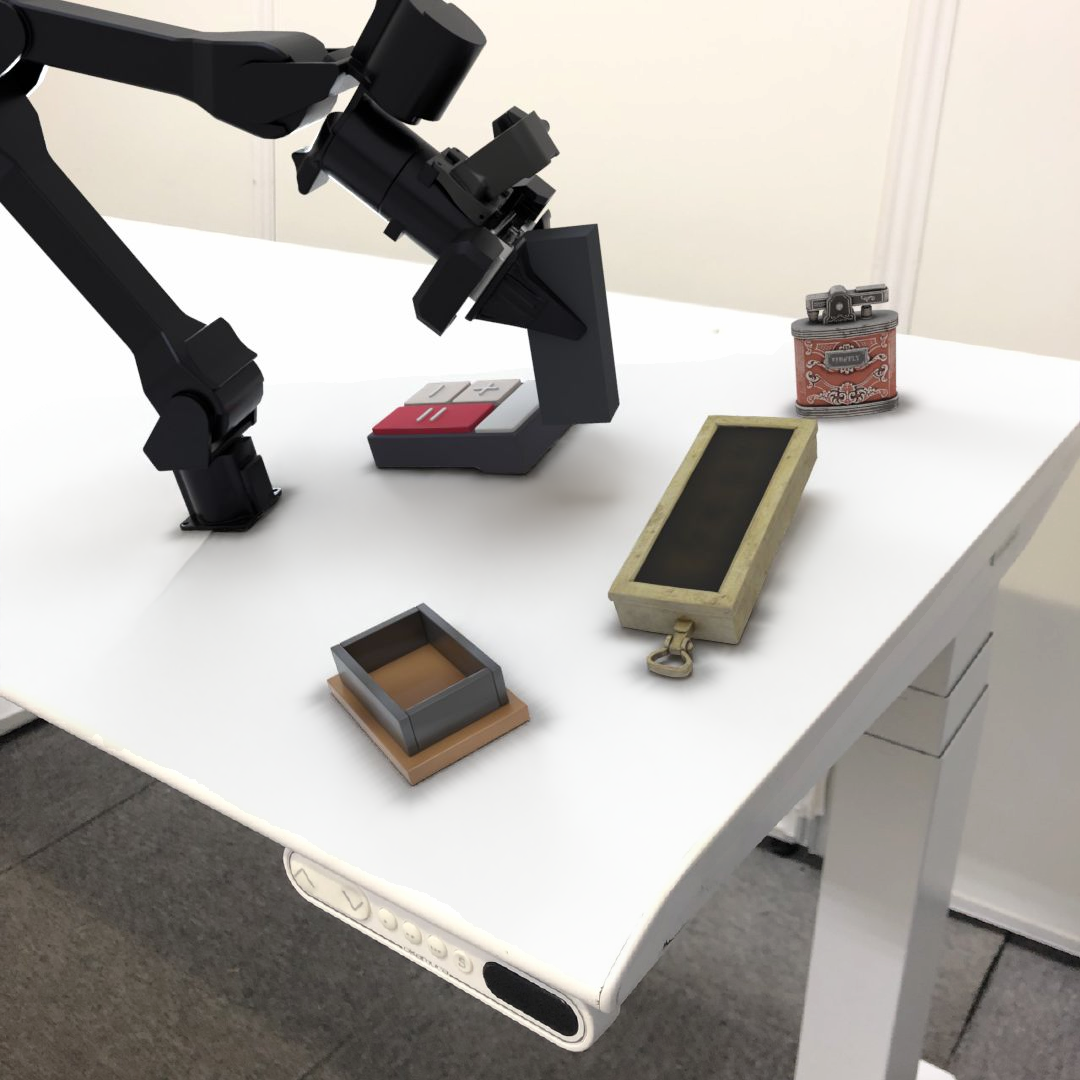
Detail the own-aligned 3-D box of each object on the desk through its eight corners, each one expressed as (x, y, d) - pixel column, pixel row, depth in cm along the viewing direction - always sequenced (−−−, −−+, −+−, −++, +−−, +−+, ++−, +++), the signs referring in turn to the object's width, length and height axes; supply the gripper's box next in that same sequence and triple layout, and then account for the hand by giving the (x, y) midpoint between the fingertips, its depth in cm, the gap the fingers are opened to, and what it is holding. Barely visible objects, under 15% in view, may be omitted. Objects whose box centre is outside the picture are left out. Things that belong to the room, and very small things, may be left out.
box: (826, 472, 72) (819, 412, 69) (736, 716, 58) (722, 654, 55) (713, 467, 76) (702, 410, 73) (602, 694, 62) (582, 635, 59)
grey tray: (330, 692, 62) (314, 645, 61) (437, 638, 65) (425, 592, 64) (412, 786, 54) (396, 735, 52) (531, 719, 57) (519, 668, 55)
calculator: (426, 378, 96) (569, 371, 89) (438, 420, 98) (579, 416, 91) (361, 429, 88) (514, 426, 81) (376, 474, 90) (526, 474, 83)
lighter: (796, 420, 84) (790, 301, 79) (794, 403, 86) (788, 287, 81) (901, 411, 82) (901, 288, 77) (895, 394, 85) (895, 274, 80)
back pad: (542, 426, 74) (512, 242, 68) (554, 407, 77) (526, 230, 71) (610, 423, 72) (586, 235, 66) (619, 404, 75) (597, 223, 69)
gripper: (419, 99, 57) (641, 277, 59) (505, 55, 72) (678, 198, 74) (327, 256, 63) (532, 412, 65) (424, 184, 78) (587, 312, 80)
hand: (588, 325), depth 71 cm, fingers closed on back pad, 3 cm apart
